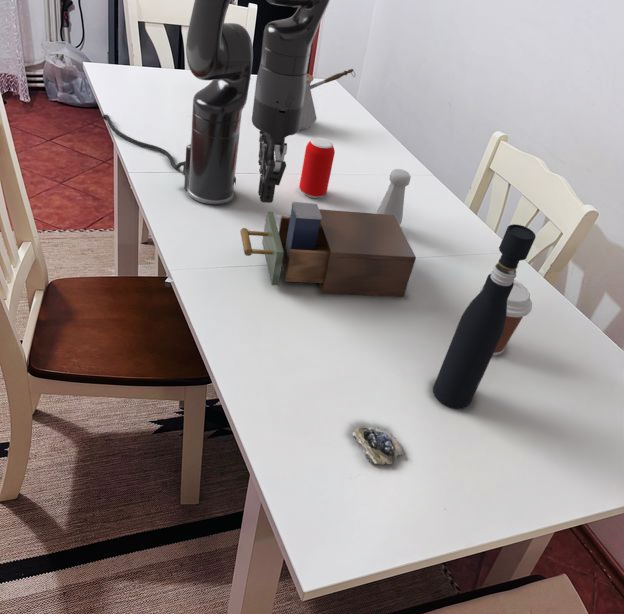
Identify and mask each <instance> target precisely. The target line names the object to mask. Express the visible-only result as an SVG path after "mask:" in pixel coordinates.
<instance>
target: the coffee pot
mask: <svg viewBox="0 0 624 614" xmlns="http://www.w3.org/2000/svg"><path fill="white" fill-rule="evenodd" d="M348 74H351V76H352V77H353V78H355V77H356V72H355V71H354V68H349V69H348V70H343V72H338V73H336V74H333V75H331V76H329V77H327V78H325V79H323V80H320V81H318V82H315V83H313V84H311V83H312V82H313V81H314V77H313V75H311V74H309V73H307V76H306V91H305V97H304V104H303V110H302V116H301V122H300V128H299V131H298V132H300V131H302V132H303V131H306V130H308V128H310V127H312V126H313V125H314V124H315V122H316V121H317V113H316V108H315V104H314V100H313V94H312V89H315V88H317V87H319V86H321V85H324V84H327V83H330V82H333V81H336V80H339V79H340V78H342V77H344V76H348ZM353 74H354V75H353Z"/></svg>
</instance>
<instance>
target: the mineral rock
mask: <svg viewBox="0 0 624 614" xmlns="http://www.w3.org/2000/svg"><path fill="white" fill-rule="evenodd" d="M352 436H353V437H354V438H355V441H356V442H357V443H359V446H360V447H361V448H362V452H363V453H365V457H366V460H368V462H369V463H371V464H373V465H374V464H375V465H380V466H381V465H385V464H387V465H392V464H393V463H394V460H395V461H397V459H398V456H402V455H405V450H404V449H403V447H402V445H401V443H400V441H399V440H397V439H396V437H395V436H394V435H393V434H392V433H391V432H389V431H387V430H386V429H383V428H379V427H375V428H374V427H373V426H366V425H359V426H357V427H354V430H352Z"/></svg>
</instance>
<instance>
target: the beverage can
mask: <svg viewBox="0 0 624 614" xmlns="http://www.w3.org/2000/svg"><path fill="white" fill-rule="evenodd" d="M335 152H336V151H335V147H334V145H333V143H332V142H331V141H330V140H328V139H327V138H323V137H313V138H312V139H310V140H309V141H308V142H307V144H306V147H305V151H304V155H303V163H302V169H301V175H300V179H299V190H300V191H301V193H302V194H303V195H305V196H307V197H309V198H312V199H317V198H318V199H319V198H322V197H324V196H326V195H327V192H328V187H329V183H330V177H331V172H332V168H333V163H334V160H335V159H334V157H335Z"/></svg>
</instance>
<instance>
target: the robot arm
mask: <svg viewBox="0 0 624 614" xmlns="http://www.w3.org/2000/svg"><path fill="white" fill-rule="evenodd" d="M231 1H232V0H194V2H193V6H192V12H191V15H190V20H189V24H188V29H187V36H186V42H185V43H186V44H185V53H186V55H185V56H186V61H187V65H188V69H189V70H190V72H191V74H192V75H193V76H194V77H195V78H196V79H198V80H201V81H210V83H209V84H208V85H206V86H204V87H203V88H202V89H200V90H199V91H197V92H196V93H195V94H194V96H193V99H192V112H191V132H190V143H189V144H187V145H186V147H185V160H184V161H180V162H178V163H177V164H176V163H175V161H174V158H173V156H172V155H171V153H170V152H169V151H167V150H165V149H164V148H161V147H159V146H157V145H153V144H150V143H147V142H142V141H139V140H137V139H134V138H132V137H130V136H128V135H126V134H124V133H123V132H121V131H120V130H118V129H117V128H116V127H115V125H114V124H113V123H112V120H111V118H110V116H109V115H108V114H103V116H102V119H103V120H105V119H106V121H107V122H106V123H107V124H108V126H109V128H110V129H111V130H112V131H113V132H114V133H116V134H117V135H118V136H120V137H122V138H123V139H125V140H127V141H129V142H131V143H132V144H135V145H138V146H141V147H145V148H148V149H152V150H155V151H158V152H160V153H162V154H164V155H165V156H166V158H167V159H168V160H169V163H170V166H171V167H172V168H173V169H175V170H178V169H180V168H181V167H183V169H182V175H183V176H184V183H183V184H184V186H183V189H184V190H185V191H186V192H187V194H188V196H189V197H190V198H191V199H193V200H194V201H197V202H198V203H202V204H206V205H224V204H227V203H230V202H231V201H232V200H233V199H234V194H235V191H234V190H235V186H236V185H237V177H236V171H237V162H238V152H239V144H240V143H239V142H240V133H241V123H242V115H243V114H242V113H243V110H244V108H245V107H246V104H247V100H248V94H249V88H250V83H251V77H252V70H253V63H254V62H253V61H254V48H253V42H252V39H251V36H250V34H249V32H248V30H247V29H246V28H245V27H244V26H243V25H241V24H239V23H234V22H225V19H226V16H227V11H228V9H229V6H230V4H231ZM265 1H266V3H267V2H268V3H269V4H271V5H275V6H281V7H282V6H283V7H292V8H297V9H296V11H295V12H294V14H293V15H292V16H290V17H288V18H283V19H278V20H273V21H270V22H268V23H267V24H266V25H265V27H264V30H263V35H262V44H261V51H260V52H261V53H260V61H259V67H258V70H257V75H256V81H255V90H254V95H253V96H254V98H253V107H252V116H251V123H252V125H253V126H254V127H255V128H256V129H257V130H259V139H258V141H259V149H258V161H257V162H258V165H259V169H258V171H259V183H258V191H257V194H258V196H259V201H260V202H261V203H264V204H265V203H266V204H272V203H273V202H274V198H275V191H276V186H280V184H281V181H282V178H283V176H284V173H285V170H286V168H287V163H286V162H287V161H285V155H287V150H288V143H287V142H286V138H287V137H289V136H294V135H296V134H297V133H298V132H300V131H299V128H300V122H301V116H302V110H303V104H304V97H305V91H306V76H307V74H308V69H309V61H310V55H311V50H312V44H313V42H314V39H315V36H316V35H317V32H318V29H319V27H320V24H321V22H322V19H323V17H324V15H325V13H326V10H327V9H328V6H329V4H330V2H331V0H265Z"/></svg>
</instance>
